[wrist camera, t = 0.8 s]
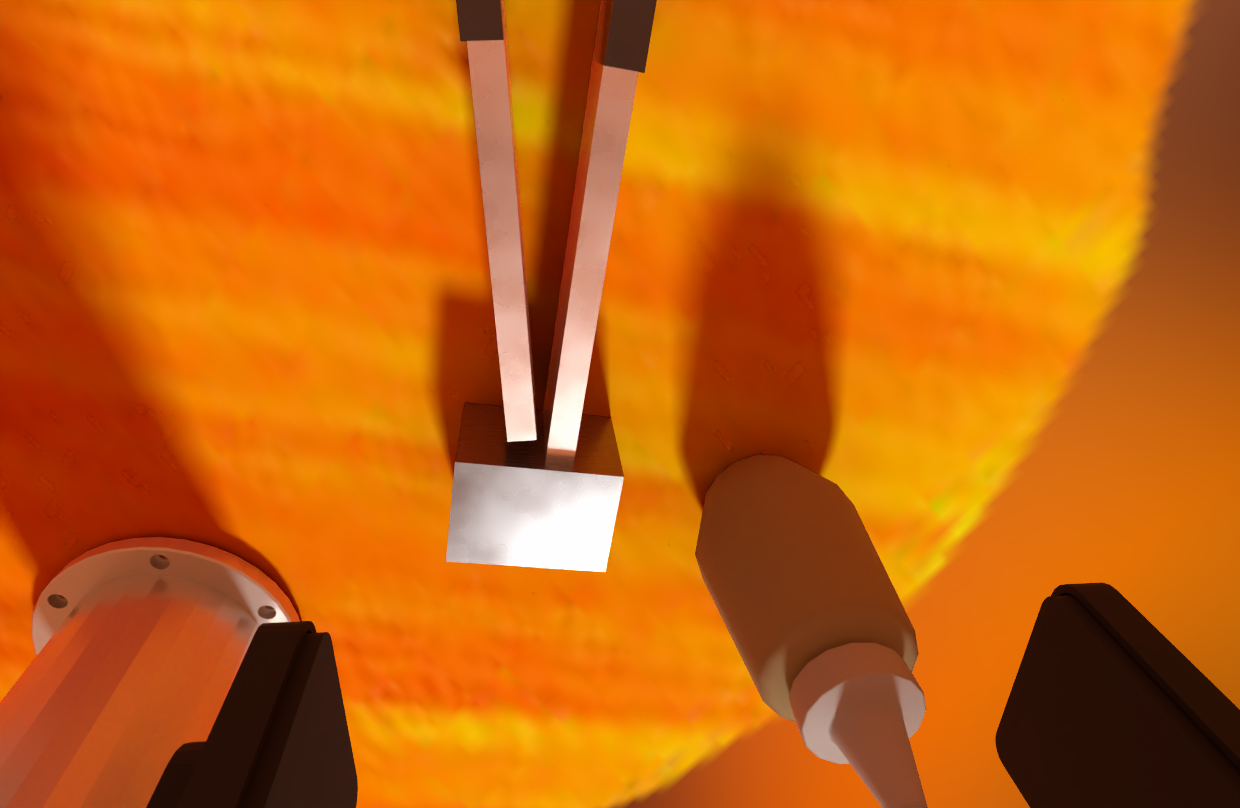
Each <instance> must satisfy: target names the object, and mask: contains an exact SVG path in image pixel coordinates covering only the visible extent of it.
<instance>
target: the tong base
mask: <svg viewBox="0 0 1240 808" xmlns="http://www.w3.org/2000/svg"><path fill="white" fill-rule="evenodd" d="M656 1H657V0H601V2H600V9H599V16H598V23H597V30H596V38H595V45H594V52H593V59H592V66H591V73H590V80H589V87H588V95H587V102H586V109H585V116H584V123H583V130H582V137H581V144H580V152H579V159H578V166H577V173H576V180H575V187H574V194H573V201H572V209H571V216H570V223H569V230H568V237H567V244H566V251H565V258H564V266H563V273H562V280H561V287H560V294H559V301H558V308H557V315H556V323H555V330H554V337H553V344H552V351H551V358H550V365H549V372H548V380H547V387H546V394H545V401H544V408H543V410H536V437H537V440H528V441H514V442H507V432H506V422H505V412H504V407H503V406H494V405H484V404H474V403H464V409H463V415H462V422H461V428H460V434H459V440H458V446H457V452H456V458H455V467H454V478H453V489H452V501H451V512H450V523H449V535H448V546H447V557H446V561H448V562H463V563H479V564H494V565H509V566H524V567H539V568H554V569H570V570H585V571H600V572H605V570H606V565H607V560H608V555H609V550H610V544H611V539H612V534H613V529H614V524H615V519H616V514H617V509H618V504H619V499H620V494H621V489H622V484H623V479H624V475H623V470H622V466H621V461H620V457H619V452H618V448H617V443H616V438H615V434H614V429H613V425H612V420H611V417H602V416H592V415H582V410H583V404H584V398H585V392H586V386H587V380H588V374H589V368H590V361H591V355H592V349H593V343H594V337H595V331H596V325H597V319H598V313H599V307H600V301H601V295H602V289H603V283H604V276H605V270H606V264H607V258H608V252H609V246H610V240H611V234H612V228H613V222H614V216H615V210H616V204H617V198H618V191H619V185H620V179H621V173H622V167H623V161H624V155H625V149H626V143H627V137H628V131H629V125H630V119H631V113H632V106H633V100H634V94H635V88H636V82H637V76H638V72H642V73H644V72H645V66H646V60H647V54H648V48H649V42H650V36H651V30H652V25H653V19H654V13H655V7H656Z"/></svg>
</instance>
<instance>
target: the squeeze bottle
mask: <svg viewBox="0 0 1240 808" xmlns="http://www.w3.org/2000/svg"><path fill="white" fill-rule="evenodd" d="M695 555H696V558H697V561H698V565H699V568H700V571H701V574H702V577H703V580H704V582H705V584H706V586H707V588H708V590H709V592H710V594H711V596H712V598H713V600H714V602H715V604H716V606H717V608H718V610H719V612H720V614H721V616H722V618H723V620H724V622H725V624H726V626H727V629H728V631H729V633H730V635H731V637H732V639H733V641H734V643H735V645H736V647H737V649H738V651H739V653H740V655H741V657H742V659H743V661H744V663H745V665H746V667H747V669H748V671H749V673H750V675H751V677H752V679H753V681H754V684H755V686H756V688H757V690H758V692H759V694H760V696H761V698H762V700H763V701H764V702H765V703H766V704H767V705H768V706H769V707H770V708H771V709H772V710H774V711H775V712H776V713H777V714H778V715H779V716H780V717H783V718H786V719H789V720H792V721H795V722H796V723H797V726H798V728H799V731H800V734H801V736H802V738H803V741H804V744H805V746H806V747H807V748H809V749H810V750H811V751H812V752H813V753H814V754H815V755H816V756H817V757H819V758H822V759H825V760H828V761H831V762H834V763H838V764H851V766H852V767H853V768H854V770H855V771H856V772H857V774H858V775H859V776H860V778H861V779H862V780H863V782H864V783H865V784H866V786H867V787H868V788H869V790H870V791H871V792H872V794H873V795H874V797H875V798H876V799H877V800H878V802H879V803H880V805H881V806H882V807H883V808H927V804H926V800H925V797H924V793H923V789H922V786H921V782H920V778H919V774H918V771H917V767H916V764H915V760H914V756H913V753H912V749H911V745H910V742H909V739H910V737H911V736H912V735H913V734H914V733H915V732H916V731H917V730H918V729H919V726H920V724H921V721H922V719H923V716H924V713H925V710H926V706H925V700H924V693H923V691H922V689H921V687H920V686H919V684H918V682H917V681H916V679H915V677H914V676H913V674H912V670H913V667H914V664H915V662H916V659H917V656H918V648H917V642H916V635H915V630H914V628H913V626H912V624H911V622H910V620H909V618H908V616H907V614H906V612H905V610H904V607H903V605H902V603H901V601H900V599H899V597H898V595H897V593H896V591H895V589H894V587H893V585H892V583H891V581H890V579H889V577H888V575H887V572H886V570H885V568H884V566H883V564H882V562H881V560H880V558H879V556H878V554H877V552H876V550H875V548H874V546H873V544H872V542H871V539H870V537H869V535H868V533H867V531H866V529H865V527H864V525H863V523H862V521H861V519H860V517H859V515H858V513H857V511H856V509H855V506H854V505H853V503H852V502H851V501H850V500H849V499H848V497H847V496H846V495H845V494H844V492H843V491H842V490H841V489H840V488H839V486H838V485H837V484H835V483H833V482H831V481H830V480H828V479H826V478H824V477H822V476H820V475H818V474H816V473H814V472H812V471H811V470H809V469H807V468H805V467H803V466H801V465H799V464H797V463H795V462H793V461H791V460H788V459H786V458H784V457H782V456H779V455H755V456H752V457H748V458H745V459H742V460H739V461H736V462H734V463H733V464H732V465H730V466H729V467H728V468H726V469H725V470H723V471H722V472H721V473H719V474H718V475H717V477H716V478H715V480H714V481H713V483H712V484H711V486H710V487H709V489H708V490H707V492H706V496H705V502H704V507H703V513H702V519H701V524H700V530H699V535H698V541H697V547H696V552H695Z"/></svg>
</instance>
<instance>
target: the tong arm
mask: <svg viewBox="0 0 1240 808" xmlns="http://www.w3.org/2000/svg"><path fill="white" fill-rule="evenodd" d="M456 3H457V13H458V22H459V32H460V41H467V48H468V58H469V68H470V77H471V87H472V97H473V107H474V117H475V127H476V136H477V146H478V156H479V166H480V176H481V186H482V196H483V205H484V215H485V225H486V235H487V245H488V255H489V265H490V274H491V284H492V294H493V304H494V314H495V324H496V334H497V343H498V353H499V363H500V373H501V383H502V393H503V403H504V412H505V422H506V432H507V442H514V441H528V440H537V437H536V399H535V383H534V370H533V358H532V345H531V333H530V321H529V308H528V296H527V283H526V271H525V258H524V246H523V233H522V221H521V208H520V196H519V183H518V171H517V159H516V146H515V134H514V121H513V109H512V96H511V84H510V71H509V59H508V46H507V34H506V21H505V9H504V0H456Z"/></svg>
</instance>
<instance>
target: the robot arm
mask: <svg viewBox="0 0 1240 808" xmlns="http://www.w3.org/2000/svg"><path fill="white" fill-rule="evenodd" d="M31 635H32V640H33V645H34V650H35V652H36V655H37V656H36V657H35V659H34V660H33V661H32V663H31V664H30V665H29V666H28V668H27V669H26V670H25V672H24V673H23V674H22V675H21V677H20V678H19V679H18V681H17V682H16V683H15V684H14V686H13V687H12V688H11V690H10V691H9V692H8V693H7V695H6V696H5V697H4V698H3V700H2V701H1V702H0V808H356V803H357V791H358V785H357V775H356V769H355V764H354V758H353V753H352V748H351V742H350V737H349V732H348V726H347V721H346V715H345V710H344V705H343V699H342V694H341V688H340V683H339V678H338V672H337V667H336V662H335V656H334V651H333V645H332V640H331V637H330V634H329V633H327V632H324V633H316V630H315V626H314V624H313V623H312V622H311V621H300V620H299V616H298V614H297V613H296V611H295V609H294V607H293V605H292V603H291V601H290V600H289V598H288V597H287V596H286V595H285V594H284V592H283V591H282V590H281V589H280V588H279V586H278V585H277V584H276V583H275V582H274V581H273V580H271V579H270V578H269V577H268V576H267V575H265V574H264V573H263V572H262V571H261V570H259V569H258V568H257V567H255V566H253V565H251V564H250V563H248V562H246V561H245V560H243V559H241V558H239V557H238V556H236V555H233V554H231V553H228V552H226V551H224V550H221V549H219V548H216V547H214V546H210V545H206V544H202V543H198V542H194V541H190V540H186V539H176V538H166V537H144V538H130V539H125V540H120V541H115V542H110V543H107V544H104V545H102V546H99V547H97V548H94V549H91V550H89V551H86V552H85V553H83V554H82V555H80V556H78V557H77V558H75V559H74V560H72V561H71V562H69V563H68V564H67V565H66V566H65V567H64V568H63V569H62V570H61V571H60V572H59V573H58V574H57V575H56V576H55V577H54V578H53V579H52V580H51V582H50V583H49V584H48V585H47V586H46V588H45V589H44V590H43V591H42V593H41V594H40V596H39V598H38V601H37V604H36V606H35V609H34V611H33V614H32V626H31ZM996 748H997V752H998V755H999V758H1000V760H1001V762H1002V763H1003V765H1004V767H1005V768H1006V770H1007V772H1008V773H1009V775H1010V776H1011V778H1012V779H1013V781H1014V783H1015V784H1016V785H1017V787H1018V789H1019V791H1020V792H1021V794H1022V795H1023V797H1024V799H1025V800H1026V801H1027V803H1028V805H1029V806H1030V808H1240V710H1239V709H1238V708H1237V707H1236V706H1235V705H1234V704H1233V703H1232V702H1231V701H1230V700H1229V699H1228V698H1227V697H1226V696H1225V695H1224V694H1223V693H1222V692H1221V691H1220V690H1219V689H1218V688H1217V687H1215V685H1214V684H1213V683H1212V682H1211V681H1210V680H1208V678H1207V677H1205V676H1204V675H1203V674H1202V673H1201V672H1200V671H1199V670H1198V669H1197V668H1196V667H1195V666H1194V665H1193V664H1192V663H1191V662H1190V661H1189V660H1188V659H1187V658H1186V657H1185V656H1184V655H1183V654H1182V653H1181V652H1180V651H1179V650H1178V649H1177V648H1176V647H1175V646H1174V645H1172V643H1171V642H1170V641H1169V640H1167V639H1166V638H1165V637H1164V636H1163V635H1162V634H1161V633H1160V632H1159V631H1158V630H1157V629H1156V628H1155V627H1154V626H1153V625H1152V624H1151V623H1150V622H1149V621H1148V620H1147V619H1146V618H1145V617H1144V616H1143V615H1142V614H1141V613H1140V612H1139V611H1138V610H1137V609H1136V608H1135V607H1134V606H1133V605H1132V604H1131V603H1129V601H1128V600H1126V599H1125V598H1124V597H1123V596H1122V595H1121V594H1120V593H1119V592H1118V591H1117V590H1116V589H1114V588H1113V587H1112V586H1110V585H1109V584H1105V583H1086V584H1066V585H1060V586H1058V587H1057V588H1056V589H1054V592H1053V593H1052V595H1051V596H1050V597H1047V598H1046V599H1045V600H1044V601H1043V603H1042V606H1041V608H1040V611H1039V614H1038V617H1037V620H1036V622H1035V625H1034V628H1033V631H1032V634H1031V636H1030V639H1029V642H1028V645H1027V648H1026V651H1025V653H1024V656H1023V659H1022V662H1021V665H1020V668H1019V670H1018V673H1017V676H1016V679H1015V682H1014V684H1013V687H1012V690H1011V693H1010V696H1009V699H1008V701H1007V704H1006V707H1005V710H1004V713H1003V716H1002V718H1001V721H1000V724H999V727H998V730H997V733H996Z"/></svg>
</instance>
